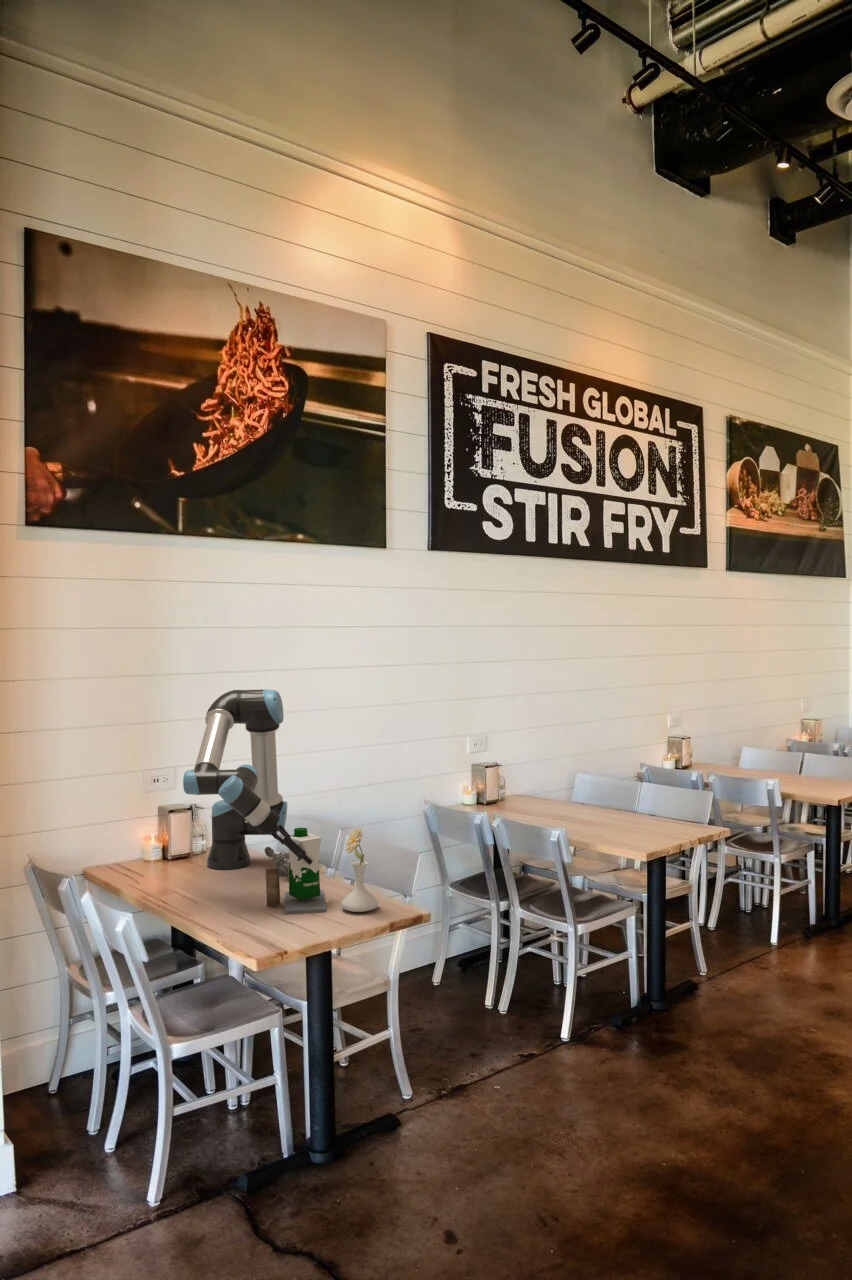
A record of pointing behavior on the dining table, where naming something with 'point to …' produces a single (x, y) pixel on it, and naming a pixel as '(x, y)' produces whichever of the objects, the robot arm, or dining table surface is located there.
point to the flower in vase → (358, 880)
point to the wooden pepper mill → (272, 886)
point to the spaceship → (279, 861)
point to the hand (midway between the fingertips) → (314, 865)
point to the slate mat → (304, 904)
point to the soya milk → (304, 866)
